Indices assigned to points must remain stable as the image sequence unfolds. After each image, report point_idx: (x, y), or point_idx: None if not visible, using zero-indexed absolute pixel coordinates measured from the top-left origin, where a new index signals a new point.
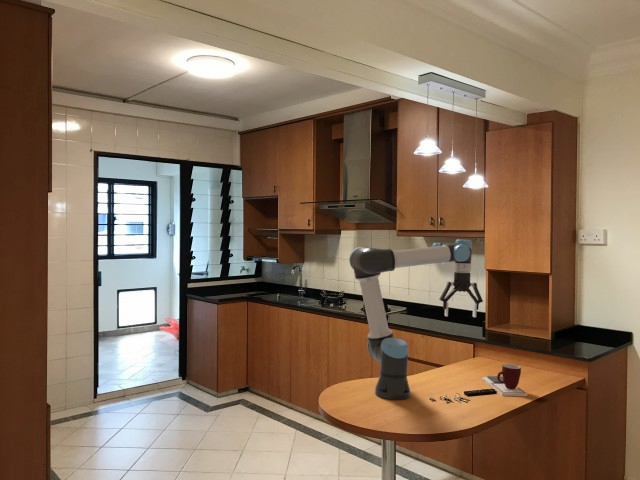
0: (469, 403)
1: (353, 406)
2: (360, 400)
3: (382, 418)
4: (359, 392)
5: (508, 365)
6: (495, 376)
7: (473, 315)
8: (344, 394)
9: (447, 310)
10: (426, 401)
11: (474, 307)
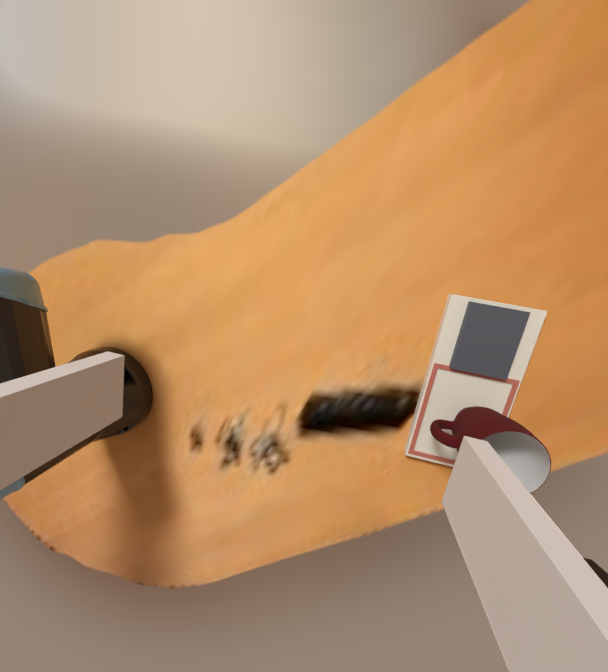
0: (275, 480)
1: None
2: None
3: (69, 509)
4: None
5: (519, 430)
6: (503, 310)
7: (460, 477)
8: None
9: (44, 457)
10: (177, 447)
11: (520, 645)
